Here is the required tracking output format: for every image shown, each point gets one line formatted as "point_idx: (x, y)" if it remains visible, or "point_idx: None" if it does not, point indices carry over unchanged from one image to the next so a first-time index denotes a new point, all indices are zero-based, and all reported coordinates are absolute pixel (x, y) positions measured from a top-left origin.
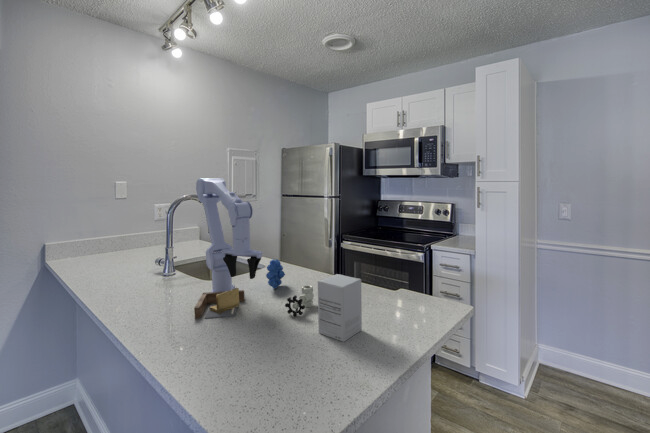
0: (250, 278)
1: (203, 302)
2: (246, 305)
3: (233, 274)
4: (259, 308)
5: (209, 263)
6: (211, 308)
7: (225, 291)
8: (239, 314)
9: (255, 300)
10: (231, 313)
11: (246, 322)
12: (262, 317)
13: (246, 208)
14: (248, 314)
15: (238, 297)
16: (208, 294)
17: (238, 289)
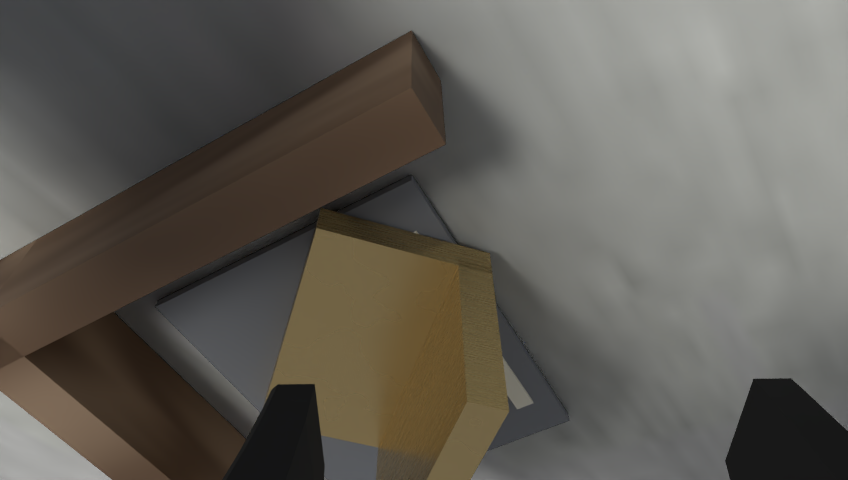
0: (737, 469)
1: (184, 464)
2: (544, 188)
3: (315, 471)
4: (736, 215)
5: None
6: None
7: (171, 221)
8: (587, 375)
9: (582, 6)
10: (520, 408)
11: (718, 460)
12: (830, 367)
13: None
14: (673, 354)
15: (495, 326)
16: (45, 343)
17: (505, 398)
